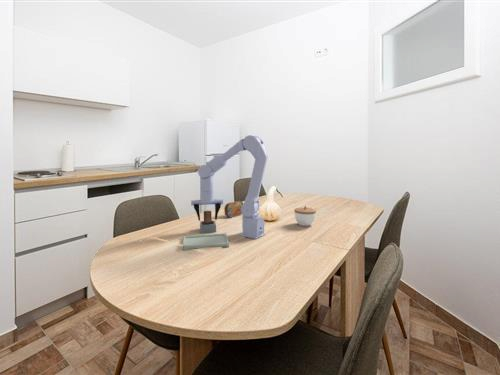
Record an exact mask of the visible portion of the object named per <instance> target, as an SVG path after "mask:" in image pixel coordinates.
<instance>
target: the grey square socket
mask: <svg viewBox="0 0 500 375" xmlns="http://www.w3.org/2000/svg"><path fill="white" fill-rule="evenodd" d="M199 233H200V234H206V233H207V234H208V233H210V234H211V233H217V223H216V220H212V224H206V225H204V220H200V221H199Z"/></svg>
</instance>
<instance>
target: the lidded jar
mask: <svg viewBox="0 0 500 375" xmlns="http://www.w3.org/2000/svg"><path fill="white" fill-rule="evenodd" d="M316 213H317V211H316V208H312V207H307V206H304V207H296V208H294V219H295V221H296V223H297V224H298V225H299V226H301V227H302V226H303V227H310V226H311V225H312V224H313V223H314V222H315V220H316V216H317V214H316Z"/></svg>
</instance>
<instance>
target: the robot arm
mask: <svg viewBox="0 0 500 375" xmlns="http://www.w3.org/2000/svg"><path fill="white" fill-rule="evenodd" d="M243 151H244V152H245V151H247V152H249V153H250V154H251V155H252V157H253V158H254V163H253V168H252V173H251V176H250V177H251V178H250V182H249V186H248V189H247V195H246V197H245V198H244V202H243V205H242V206H241V212H242V214H241V215H242V221H241V222H242V232H240V233H238V235H240V236H243V237H245V238H249V239H254V240H256V239H259V238H260V237H262V236H265V235H266V234H265V220H264V217H261V216H259V212H258V211H259V209H260V202H259V201H260V191H261V187H262V183H263V178H264V176H265V170H266V166H267V161H268V154H267V151H266V148H265V142H264V141H263V140H262V139H261V138H260V137H259V136H258V135H252V134H251V135H247V136H244V138H242V139H240V140H239V141H237V142H236V143H235V144H234V145H233V146H231V147H230V148H229V149H228V150H227V151H225V152H224V153H223V154H214V155H213V156H212V157H213V158H212V159H211V160H209V161H206V162H205V164H201V165H200V166H199V168H198V171H197V173H198V176H199V177H200V179H199V180H200V181H199V182H200V199H194V200H190V202H191V203H190V204H191V205H190V206H193V208H194V210H195V213H196V215H197V218H198V222H200V221H201V215H200V213H201V212H200V206H203V205H204V206H205V205H207V206H208V205H214V221H217V220H218V215H219V211H220V209H221V207H222V205H224V199H214V175H215V173H217V172H218V171H220V170H221V169H222V168H224V167H225V166H226V165H227V162H228V161H229V160H230V159H232V157H234V156H236V155H237V154H239V153H240V152H243Z"/></svg>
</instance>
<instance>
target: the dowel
mask: <svg viewBox="0 0 500 375" xmlns="http://www.w3.org/2000/svg"><path fill="white" fill-rule="evenodd" d="M212 218H213V217H212V210H204V211H203V221H204V225H206V224H212V221H213V219H212Z"/></svg>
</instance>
